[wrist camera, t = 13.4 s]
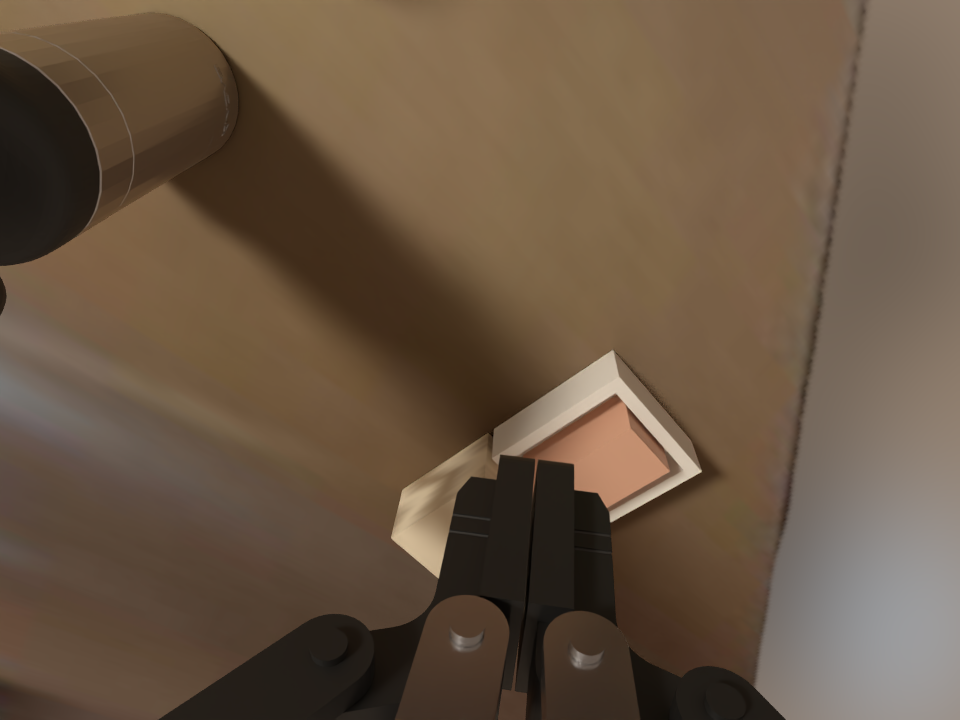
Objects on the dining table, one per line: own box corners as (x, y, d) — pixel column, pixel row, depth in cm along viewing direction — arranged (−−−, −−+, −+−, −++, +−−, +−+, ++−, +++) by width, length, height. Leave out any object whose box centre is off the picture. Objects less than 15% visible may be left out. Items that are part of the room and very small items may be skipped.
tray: (573, 508, 62) (576, 541, 58) (493, 428, 58) (491, 458, 54) (691, 440, 57) (701, 471, 54) (613, 349, 54) (618, 376, 50)
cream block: (483, 561, 66) (479, 613, 60) (402, 489, 62) (390, 538, 57) (568, 512, 62) (572, 562, 57) (488, 432, 58) (484, 478, 53)
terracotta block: (562, 533, 55) (670, 471, 52) (522, 494, 54) (630, 428, 50) (560, 491, 60) (659, 432, 56) (522, 455, 58) (622, 390, 54)
